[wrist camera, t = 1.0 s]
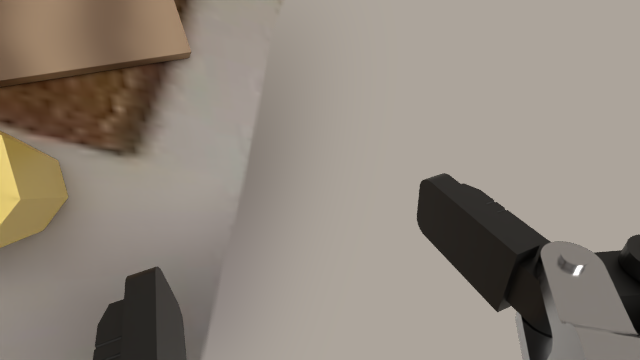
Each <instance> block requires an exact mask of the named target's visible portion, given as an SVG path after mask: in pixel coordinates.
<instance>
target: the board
mask: <svg viewBox="0 0 640 360" xmlns="http://www.w3.org/2000/svg"><path fill="white" fill-rule="evenodd" d="M190 54H191V50H190V47H189V44H188V41H187V38H186V35H185V32H184V29H183V26H182V23H181V20H180V17H179V14H178V11H177V8H176V5H175V2H174V0H0V87H4V86H11V85H17V84H24V83H30V82H36V81H43V80H49V79H56V78H62V77H69V76H75V75H81V74H88V73H94V72H101V71H107V70H113V69H120V68H126V67H133V66H139V65H146V64H152V63H158V62H165V61H171V60H178V59H184V58H189V56H190Z"/></svg>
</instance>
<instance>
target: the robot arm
mask: <svg viewBox="0 0 640 360" xmlns="http://www.w3.org/2000/svg"><path fill="white" fill-rule="evenodd" d="M417 221H418V225H419V227H420V230H421V231H422V233H423V234H424V235H425V236H426V237H427V238H428V239H429V241H431V243H432V244H433V245H434V246H435V247H436V248H437V249H438V250H439V251H440V252H441V253H442V254H443V255H444V256H445V257H446V258H447V260H448V261H449V262H450V263H451V264H452V265H453V266H454V267H455V268H456V269H457V270H458V271H459V272H460V273H461V274H462V275H463V276H464V277H465V279H466V280H467V281H468V282H469V283H470V284H471V285H472V286H473V287H474V288H475V289H476V290H477V291H478V292H479V293H480V294H481V295H482V296H483V298H484V299H485V300H486V301H487V302H488V303H489V304H490V305H491V306H492V307H493V308H494V309H495V310H496V311H497V312H499V311H501V310H503V309H506V308H508V307H510V306H512V307H513V308H514V309H515V310H516V311H517V313H516V325H517V330H518V336H519V341H520V347H521V352H522V358H523V360H640V235H635V236H632V237H630V238H629V239H628V241H627V243H626V244H625V246H624V248H623V249H622V250H621V251H609V252H597V253H593V252H592V251H590V250H588V249H587V248H584V247H582V246H580V245H577V244H574V243H570V242H563V241H556V242H550V241H549V240H547V239H546V238H544V237H543V236H542V235H540V234H539V233H538V232H536V231H535V230H534V229H532V228H531V227H529V226H528V225H527V224H525V223H524V222H523V221H521V220H520V219H519V218H517V217H516V216H515V215H513V214H512V213H511V212H509V211H508V210H507V211H506V210H505V208H504V207H503V206H501V205H500V204H498V203H497V202H494V200H493V199H492V198H490V197H489V196H487V195H486V194H485V193H484V192H482V191H481V190H479V189H476V188H474V187H471V186H469V185H466V184H460V183H458V182H457V181H456V180H455V179H454V178H452V177H451V176H450V175H448V174H445V173H444V174H440V175H437V176H434V177H431V178H428V179H425V180H423V181H422V182H421V184H420V190H419V200H418V211H417ZM95 347H96V349H95V350H94V357H93V360H186V349H185V338H184V327H183V319H182V314H181V311H180V307H179V305H178V302H177V300H176V298H175V296H174V294H173V292H172V290H171V288H170V286H169V284H168V282H167V281H166V279H165V277H164V275H163V273H162V271H161V269H160V268H159V267H154V268H151V269H148V270H145V271H142V272H139V273H136V274H133V275H130V276H128V277H127V278H126V282H125V295H124V299H123V300H120V301H117V302H114V303H112V304H109V306H108V308H107V309H106V311H105V313H104V315H103V317H102V318H101V320H100V322H99V324H98V328H97V335H96V342H95Z"/></svg>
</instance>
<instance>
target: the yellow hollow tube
mask: <svg viewBox="0 0 640 360" xmlns="http://www.w3.org/2000/svg"><path fill="white" fill-rule="evenodd" d="M67 198H68V194H67V190H66V187H65V183H64V180H63V176H62V172H61V169H60V165H59V162H58V160H56V159H54V158H52V157H50V156H48V155H47V154H45V153H43V152H41V151H39V150H37V149H35V148H33V147H31V146H29V145H28V144H26V143H24V142H22V141H20V140H18V139H16V138H14V137H12V136H10V135H8V134H5V133H3V132H1V131H0V248H1V247H4V246H6V245H8V244H11V243H13V242H16V241H18V240H21V239H23V238H26V237H28V236H31V235H33V234H36V233H38V232H41V231H43V230H44V229H45V228H46V226H47V225H48V224H49V222H50V221H51V220H52V218H53V217H54V216H55V214H56V213H57V212H58V210H59V209H60V208H61V206H62V205H63V204H64V202H65V201H66V200H67Z"/></svg>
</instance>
